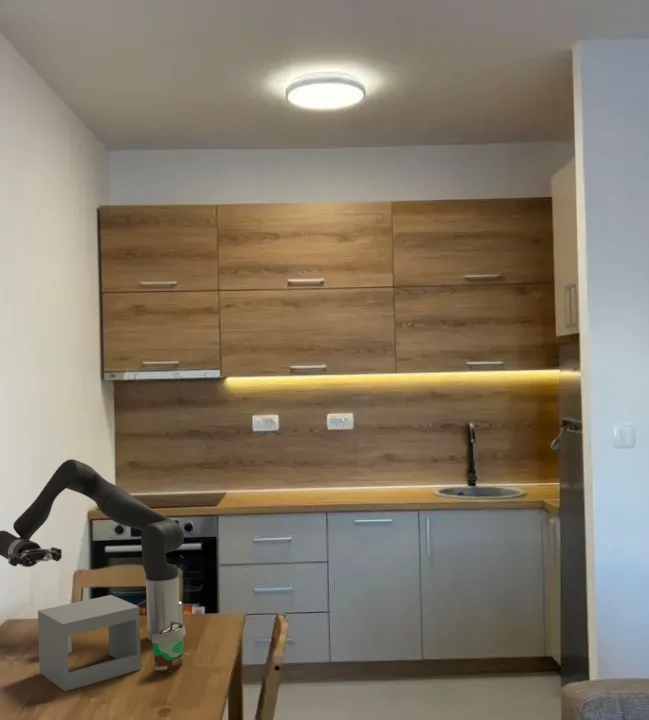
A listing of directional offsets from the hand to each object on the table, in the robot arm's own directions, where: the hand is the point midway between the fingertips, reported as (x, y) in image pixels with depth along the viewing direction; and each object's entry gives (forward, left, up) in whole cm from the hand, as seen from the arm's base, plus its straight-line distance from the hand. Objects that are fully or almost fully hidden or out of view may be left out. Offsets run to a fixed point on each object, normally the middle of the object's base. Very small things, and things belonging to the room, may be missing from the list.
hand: (43, 560), depth 224 cm
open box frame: (0, +31, -24) cm, 39 cm away
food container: (-17, +44, -24) cm, 53 cm away
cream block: (0, +10, -24) cm, 26 cm away
